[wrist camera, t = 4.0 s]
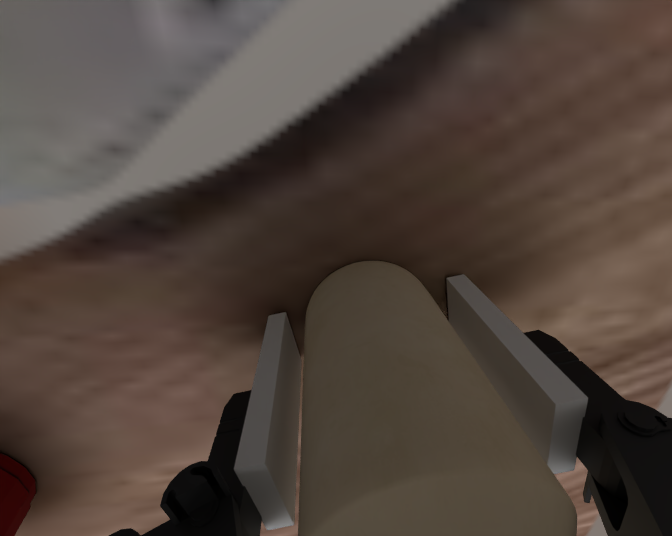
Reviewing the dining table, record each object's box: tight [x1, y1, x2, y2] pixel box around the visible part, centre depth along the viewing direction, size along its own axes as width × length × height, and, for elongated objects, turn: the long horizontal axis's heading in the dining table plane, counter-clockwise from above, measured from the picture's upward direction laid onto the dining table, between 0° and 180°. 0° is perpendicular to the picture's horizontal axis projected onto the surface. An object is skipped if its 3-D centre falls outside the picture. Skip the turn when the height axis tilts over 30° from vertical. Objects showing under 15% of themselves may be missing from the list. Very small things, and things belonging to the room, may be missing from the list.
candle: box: [298, 261, 577, 536], centre depth 9 cm, size 6×6×10 cm
